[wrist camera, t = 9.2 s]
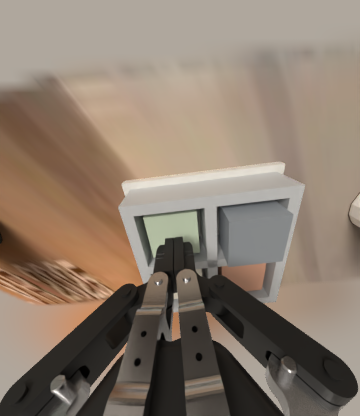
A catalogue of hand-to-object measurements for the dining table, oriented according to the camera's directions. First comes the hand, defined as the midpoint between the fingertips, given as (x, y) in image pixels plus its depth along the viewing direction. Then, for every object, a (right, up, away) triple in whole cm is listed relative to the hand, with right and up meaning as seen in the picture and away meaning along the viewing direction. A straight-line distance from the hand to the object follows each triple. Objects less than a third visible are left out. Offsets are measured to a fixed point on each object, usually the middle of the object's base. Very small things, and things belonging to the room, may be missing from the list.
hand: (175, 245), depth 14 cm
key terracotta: (+7, -3, +8) cm, 11 cm away
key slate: (+7, +2, +2) cm, 7 cm away
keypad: (+4, 0, +7) cm, 8 cm away
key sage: (0, +2, +4) cm, 5 cm away
